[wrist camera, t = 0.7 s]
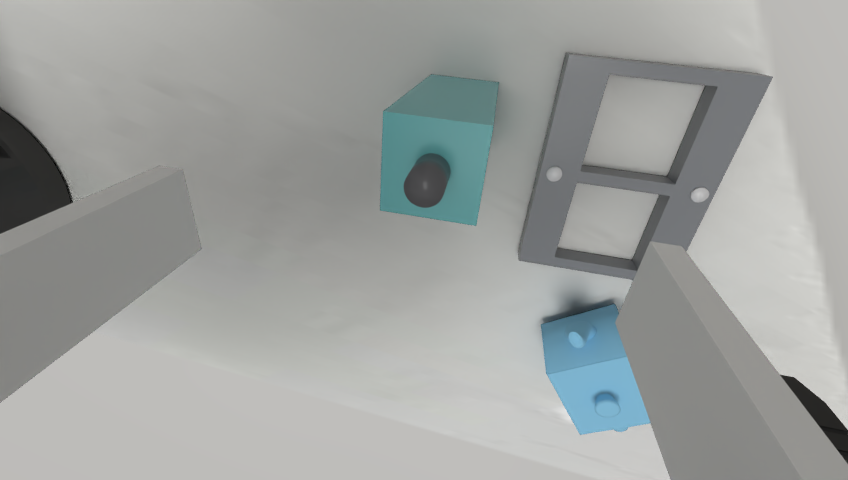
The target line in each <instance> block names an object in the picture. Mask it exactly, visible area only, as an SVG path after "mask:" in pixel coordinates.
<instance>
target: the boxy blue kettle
mask: <svg viewBox="0 0 848 480" xmlns="http://www.w3.org/2000/svg"><path fill="white" fill-rule="evenodd" d="M618 315H619V312H618V310H617V307H616V305H615V304H612V305H609V306H605V307H601V308H598V309H594V310H591V311H587V312H584V313H580V314H576V315H573V316H569V317H566V318H562V319H558V320H555V321H551V322H548V323H544V324H541V329H542V338H543V348H544V357H545V366H546V374H547V375H548V377H549V379H550V381H551V383H552V385H553V386H554V388H555V390H556V392H557V394H558V396H559V397H560V399H561V401H562V403H563V405H564V407H565V408H566V410H567V412H568V414H569V416H570V417H571V419H572V421H573V423H574V425H575V426H576V428H577V430H578V432H579V434H580V435H582V434H587V433H593V432H600V431H606V430H613V429H614V430H615V431H618V432H622V431H625V430H627V429H628V427H631V426H637V425H643V424H649V423H650V420H649V417H648V414H647V411H646V409H645V406H644V403H643V400H642V397H641V394H640V392H639V389H638V386H637V383H636V380H635V378H634V375H633V372H632V369H631V366H630V363H629V361H628V358H627V355H626V352H625V349H624V347H623V344H622V341H621V338H620V335H619V332H618V330H617V327H616V324H615V322H616V319H617V317H618Z"/></svg>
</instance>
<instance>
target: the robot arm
mask: <svg viewBox="0 0 848 480" xmlns="http://www.w3.org/2000/svg"><path fill="white" fill-rule="evenodd" d="M200 250H201V245H200V240H199V236H198V232H197V228H196V223H195V219H194V215H193V211H192V206H191V202H190V198H189V194H188V189H187V185H186V181H185V177H184V173H183V169H177V168H171V167H164V166H157V167H155V168H153V169H150V170H148V171H146V172H143V173H141V174H139V175H136V176H134V177H132V178H129V179H127V180H125V181H122V182H120V183H118V184H115V185H113V186H111V187H108V188H106V189H104V190H101V191H99V192H97V193H94V194H92V195H90V196H87V197H85V198H83V199H80V200H78V201H76V202H74V203H71V202H70V198H69V194H68V191H67V188H66V186H65V183H64V181H63V179H62V177H61V175H60V173H59V171H58V169H57V168H56V166H55V164H54V163H53V161H52V160H51V158H50V157H49V156H48V154H47V153H46V152H45V150H44V149H43V148H42V147H41V145H40V144H39V143H38V142H37V141H36V140H35V139H34V138H33V137H32V136H31V134H30V133H29V132H28V131H26V130H25V129H24V128H23V127H22V126H21V125H20V124H19V123H18V122H16V121H15V120H14V119H13V118H11V117H10V116H9V115H7V114H6V113H5V112H3V111H2V110H0V402H2V401H3V400H4V399H6V398H7V397H8V396H10V395H11V394H12V393H14V392H15V391H16V390H17V389H19V388H20V387H21V386H23V385H24V384H25V383H27V382H28V381H29V380H30V379H32V378H33V377H35V376H36V375H37V374H38V373H40V372H41V371H42V370H44V369H45V368H46V367H47V366H49V365H50V364H52V363H53V362H54V361H55V360H57V359H58V358H59V357H61V356H62V355H63V354H65V353H66V352H67V351H69V350H70V349H71V348H72V347H74V346H75V345H76V344H78V343H79V342H80V341H82V340H83V339H84V338H85V337H87V336H88V335H90V334H91V333H92V332H93V331H95V330H96V329H97V328H99V327H100V326H101V325H103V324H104V323H105V322H107V321H108V320H109V319H111V318H112V317H113V316H114V315H116V314H117V313H118V312H120V311H121V310H122V309H124V308H125V307H126V306H128V305H129V304H130V303H132V302H133V301H134V300H135V299H137V298H138V297H139V296H141V295H142V294H143V293H145V292H146V291H147V290H149V289H150V288H151V287H152V286H154V285H155V284H156V283H158V282H159V281H160V280H162V279H163V278H164V277H166V276H167V275H168V274H170V273H171V272H172V271H173V270H175V269H176V268H177V267H179V266H180V265H181V264H183V263H184V262H185V261H187V260H188V259H189V258H190V257H192V256H193V255H194V254H196V253H197V252H198V251H200ZM615 324H616V327H617V330H618V332H619V335H620V338H621V341H622V344H623V347H624V349H625V352H626V355H627V358H628V361H629V363H630V366H631V369H632V372H633V375H634V378H635V380H636V383H637V386H638V389H639V392H640V394H641V397H642V400H643V403H644V406H645V409H646V411H647V414H648V417H649V420H650V423H651V426H652V428H653V431H654V434H655V437H656V440H657V442H658V445H659V448H660V451H661V454H662V457H663V459H664V462H665V465H666V468H667V471H668V473H669V476H670V479H671V480H848V430H847V429H846V427H845V426H844V425H843V424H842V422H841V421H840V420H839V419H838V418H837V416H836V415H835V414H834V413H833V412H832V410H831V409H830V408H829V407H828V406H827V404H826V403H825V402H824V401H822V400H821V399H820V398H819V397H817V396H816V395H815V394H814V393H813V392H811V391H810V390H809V389H808V388H806V387H805V386H804V385H803V384H802V383H800V382H799V381H798V380H797V379H795V378H794V377H789V376H784V375H780V374H779V373H778V372H777V370H776V369H775V368H774V367H773V365H772V364H771V363H770V361H769V360H768V359H767V357H766V356H765V355H764V353H763V352H762V351H761V350H760V348H759V347H758V346H757V344H756V343H755V342H754V340H753V339H752V338H751V336H750V335H749V334H748V332H747V331H746V330H745V329H744V327H743V326H742V325H741V323H740V322H739V321H738V319H737V318H736V317H735V315H734V314H733V313H732V311H731V310H730V309H729V308H728V306H727V305H726V304H725V302H724V301H723V300H722V298H721V297H720V296H719V294H718V293H717V292H716V291H715V289H714V288H713V287H712V285H711V284H710V283H709V281H708V280H707V279H706V277H705V276H704V275H703V273H702V272H701V271H700V270H699V268H698V267H697V266H696V264H695V263H694V262H693V260H692V259H691V258H690V256H689V255H688V254H687V252H686V251H685V250H684V249H683V247H682V246H677V245H671V244H664V243H658V242H651V241H650V243H649V245H648V247H647V250H646V252H645V254H644V257H643V259H642V261H641V264H640V266H639V268H638V271H637V273H636V275H635V278H634V280H633V282H632V284H631V287H630V289H629V291H628V294H627V296H626V298H625V301H624V303H623V305H622V308H621V310H620V312H619V315H618V317H617V319H616V322H615Z"/></svg>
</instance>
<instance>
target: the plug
mask: <svg viewBox="0 0 848 480" xmlns="http://www.w3.org/2000/svg"><path fill="white" fill-rule="evenodd" d="M498 85H499V82H491V81H483V80H474V79H466V78H457V77H449V76H441V75H432V74H431V75H430V76H429V77H427V78H426V79H425V80H423V81H422V82H421V83H420V84H418V85H417V86H416V87H414V88H413V89H412V90H410V91H409V92H408V93H406V94H405V95H404V96H403V97H401V98H400V99H399V100H397V101H396V102H395V103H393V104H392V105H391V106H390V107H388V108H387V109H386V110H384V111H383V133H382V164H381V194H380V210H381V211H387V212H393V213H400V214H406V215H412V216H418V217H425V218H431V219H437V220H443V221H449V222H456V223H462V224H468V225H474V226H476V224H477V218H478V212H479V207H480V201H481V195H482V189H483V184H484V178H485V172H486V166H487V161H488V155H489V149H490V143H491V138H492V132H493V126H494V118H495V110H496V102H497V94H498Z"/></svg>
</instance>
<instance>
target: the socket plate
mask: <svg viewBox="0 0 848 480" xmlns="http://www.w3.org/2000/svg"><path fill="white" fill-rule="evenodd" d="M609 74H610V75H619V76H628V77H636V78H645V79H654V80H663V81H672V82H681V83H690V84H698V85H706V86H705V88H704V91H703V93H702V95H701V98H700V100H699V103H698V105H697V107H696V110H695V112H694V114H693V117H692V119H691V122H690V124H689V126H688V129H687V131H686V133H685V136H684V138H683V141H682V143H681V145H680V148H679V150H678V152H677V155H676V157H675V160H674V162H673V164H672V167H671V169H670V171H669V174H668V176H667V177H666V176H659V175H652V174H644V173H637V172H630V171H623V170H616V169H609V168H601V167H594V166H587V165H582V163H583V160H584V157H585V153H586V150H587V147H588V144H589V140H590V137H591V134H592V130H593V127H594V124H595V120H596V117H597V114H598V110H599V107H600V104H601V100H602V97H603V94H604V90H605V87H606V84H607V80H608V77H609ZM772 78H773V77H771V76H767V75H762V74H758V73H749V72H739V71H730V70H721V69H712V68H702V67H693V66H684V65H675V64H666V63H656V62H647V61H638V60H629V59H619V58H610V57H601V56H592V55H582V54H573V53H566V55H565V59H564V64H563V68H562V72H561V76H560V80H559V84H558V88H557V92H556V97H555V101H554V105H553V109H552V113H551V117H550V121H549V125H548V129H547V134H546V138H545V142H544V146H543V150H542V154H541V158H540V162H539V167H538V171H537V175H536V179H535V183H534V187H533V191H532V195H531V199H530V204H529V208H528V212H527V216H526V220H525V224H524V228H523V232H522V237H521V241H520V245H519V249H518V259H519V261H525V262H531V263H537V264H543V265H548V266H554V267H560V268H566V269H572V270H578V271H584V272H590V273H596V274H602V275H608V276H614V277H620V278H625V279H631V280H634V278H635V275H636V273H637V271H638V268H639V266H640V264H641V261H642V259H643V257H644V254H645V252H646V250H647V247H648V245H649V243H650V241H651V242H658V243H664V244H671V245H677V246H682V247H683V249H684V250H685V251H687V249H688V247H689V245H690V243H691V241H692V239H693V237H694V235H695V233H696V231H697V229H698V227H699V225H700V223H701V221H702V219H703V217H704V215H705V213H706V211H707V209H708V207H709V205H710V203H711V201H712V199H713V197H714V195H715V193H716V191H717V189H718V187H719V185H720V183H721V181H722V179H723V177H724V175H725V173H726V170H727V168H728V166H729V164H730V162H731V160H732V158H733V156H734V154H735V152H736V150H737V148H738V146H739V144H740V142H741V140H742V138H743V136H744V134H745V132H746V130H747V128H748V126H749V124H750V122H751V120H752V118H753V116H754V114H755V112H756V110H757V108H758V106H759V104H760V102H761V100H762V98H763V96H764V94H765V92H766V90H767V88H768V86H769V84H770V82H771V80H772ZM576 183H583V184H590V185H597V186H604V187H611V188H618V189H625V190H632V191H639V192H646V193H653V194H660V195H659V198H658V200H657V202H656V205H655V207H654V210H653V212H652V214H651V217H650V219H649V221H648V224H647V226H646V229H645V231H644V233H643V236H642V238H641V240H640V243H639V245H638V248H637V250H636V252H635V255H634V257H633V259H632V260H627V259H621V258H615V257H609V256H603V255H597V254H591V253H585V252H579V251H572V250H566V249H560V248H557V247H558V243H559V240H560V237H561V233H562V230H563V227H564V223H565V220H566V217H567V213H568V210H569V207H570V203H571V200H572V197H573V193H574V190H575V187H576Z"/></svg>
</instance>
